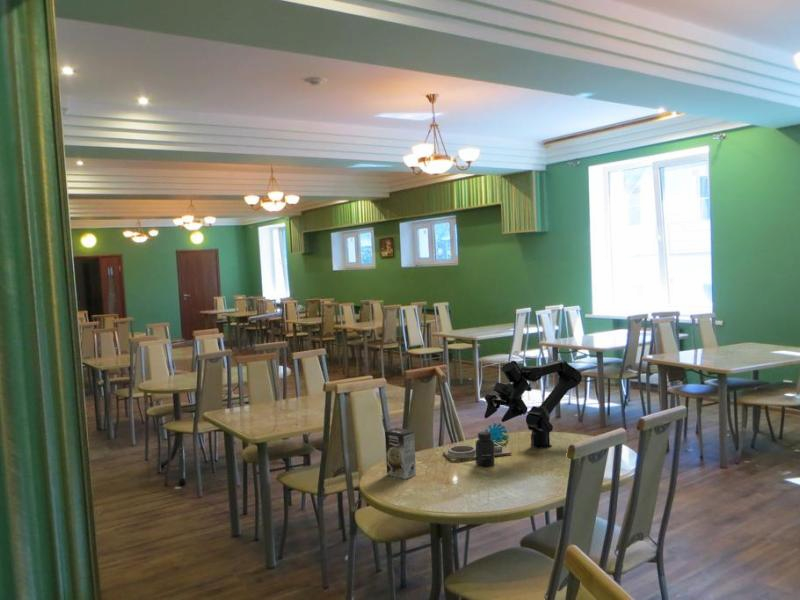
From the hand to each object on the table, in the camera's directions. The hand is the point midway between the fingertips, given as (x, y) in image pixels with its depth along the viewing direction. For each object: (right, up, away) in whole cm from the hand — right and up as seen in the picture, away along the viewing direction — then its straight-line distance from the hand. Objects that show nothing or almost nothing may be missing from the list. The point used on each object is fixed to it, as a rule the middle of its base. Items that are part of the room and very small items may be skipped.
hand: (493, 419), depth 252 cm
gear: (+5, -14, +24) cm, 28 cm away
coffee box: (-35, -18, -14) cm, 42 cm away
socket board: (-5, -15, +8) cm, 18 cm away
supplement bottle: (-4, -16, -6) cm, 18 cm away
